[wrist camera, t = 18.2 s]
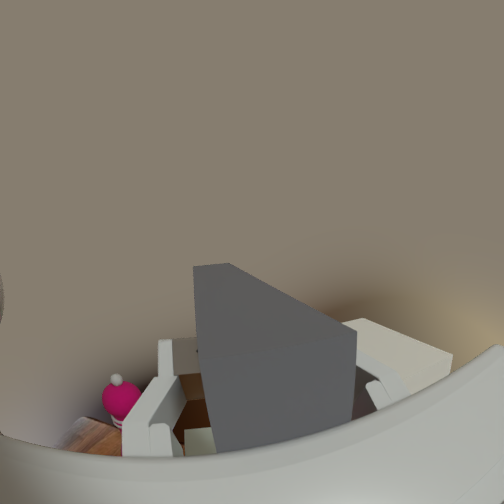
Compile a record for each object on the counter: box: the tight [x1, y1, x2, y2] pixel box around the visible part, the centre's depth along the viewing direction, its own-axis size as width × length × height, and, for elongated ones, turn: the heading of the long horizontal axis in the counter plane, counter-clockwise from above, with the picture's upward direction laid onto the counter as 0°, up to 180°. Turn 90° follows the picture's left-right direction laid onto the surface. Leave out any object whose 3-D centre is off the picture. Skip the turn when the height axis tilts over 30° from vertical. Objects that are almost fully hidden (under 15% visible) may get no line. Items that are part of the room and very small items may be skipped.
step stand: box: [184, 318, 453, 456], centre depth 22 cm, size 14×22×26 cm, turn 102°
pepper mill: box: [102, 374, 142, 456], centre depth 32 cm, size 7×7×20 cm
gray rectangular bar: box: [193, 263, 357, 453], centre depth 16 cm, size 22×4×4 cm, turn 12°
